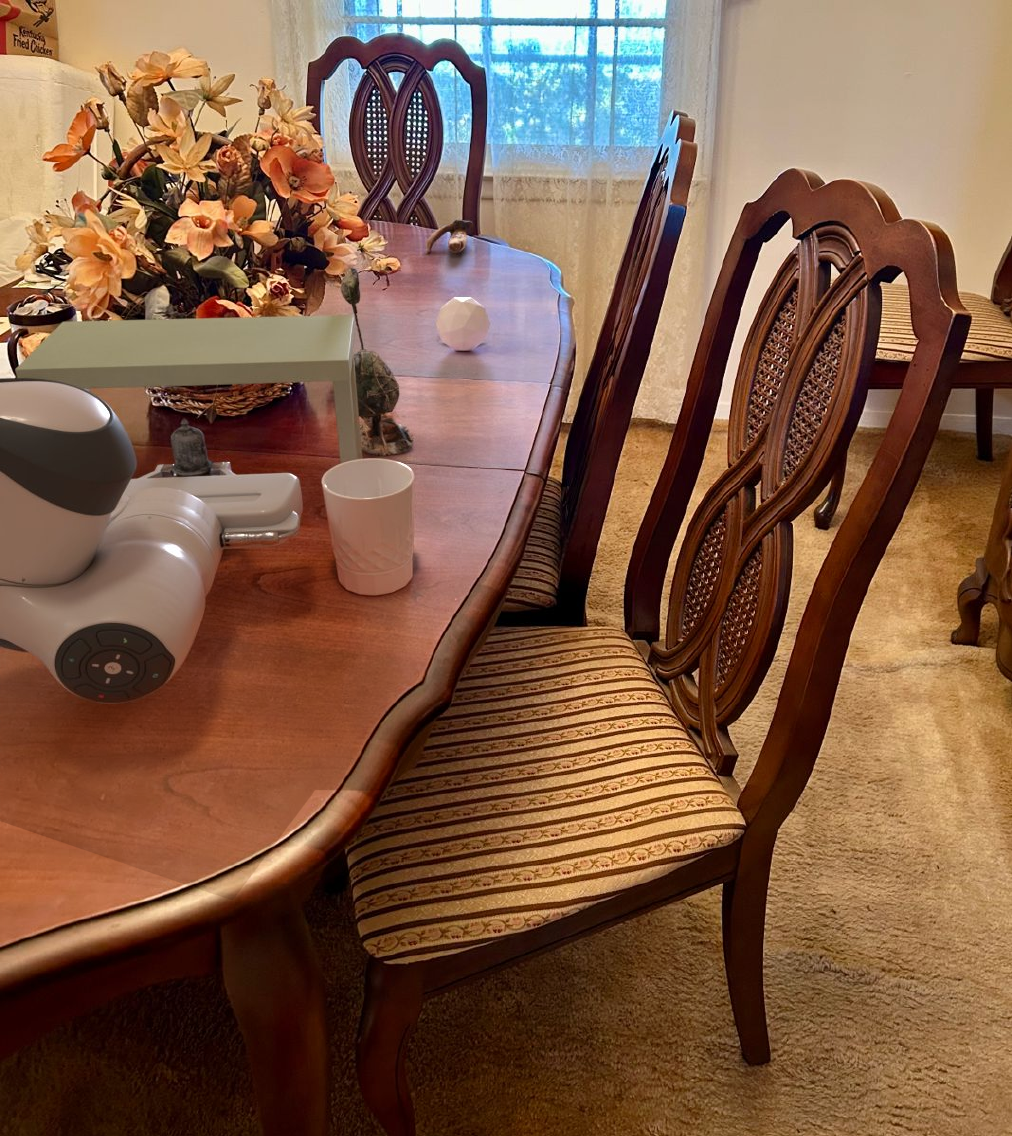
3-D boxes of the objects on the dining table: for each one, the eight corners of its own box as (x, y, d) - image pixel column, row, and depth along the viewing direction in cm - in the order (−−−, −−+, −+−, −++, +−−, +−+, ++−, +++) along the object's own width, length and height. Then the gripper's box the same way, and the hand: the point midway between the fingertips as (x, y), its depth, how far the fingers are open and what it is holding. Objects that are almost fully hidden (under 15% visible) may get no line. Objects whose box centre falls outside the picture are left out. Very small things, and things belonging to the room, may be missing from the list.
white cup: (397, 607, 81) (390, 505, 75) (316, 590, 83) (304, 490, 78) (432, 562, 87) (428, 465, 82) (356, 548, 89) (347, 452, 84)
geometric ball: (457, 362, 142) (456, 311, 143) (500, 351, 138) (499, 299, 139) (425, 349, 136) (425, 296, 137) (470, 337, 132) (469, 283, 132)
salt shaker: (213, 557, 85) (191, 435, 79) (159, 546, 87) (133, 425, 80) (249, 528, 90) (231, 411, 83) (198, 518, 91) (177, 402, 85)
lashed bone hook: (431, 240, 202) (423, 258, 186) (430, 217, 200) (422, 233, 184) (474, 239, 202) (470, 257, 186) (473, 216, 199) (469, 232, 184)
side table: (62, 537, 91) (14, 369, 82) (100, 474, 102) (62, 321, 94) (362, 524, 93) (348, 359, 84) (365, 464, 105) (353, 314, 96)
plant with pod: (337, 465, 105) (319, 286, 94) (352, 426, 114) (338, 259, 104) (409, 466, 105) (400, 287, 94) (418, 426, 114) (410, 259, 104)
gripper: (292, 505, 73) (306, 434, 85) (20, 516, 71) (73, 442, 83) (301, 573, 76) (313, 496, 88) (42, 586, 74) (90, 505, 86)
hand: (195, 470), depth 85 cm, fingers closed on salt shaker, 3 cm apart
